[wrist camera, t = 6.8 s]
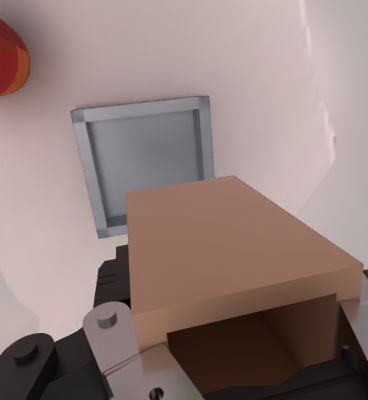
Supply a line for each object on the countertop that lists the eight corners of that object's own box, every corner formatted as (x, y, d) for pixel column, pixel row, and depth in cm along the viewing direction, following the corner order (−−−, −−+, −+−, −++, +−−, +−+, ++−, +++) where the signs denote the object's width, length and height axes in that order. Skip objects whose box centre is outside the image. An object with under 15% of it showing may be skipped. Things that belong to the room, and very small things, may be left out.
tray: (75, 109, 28) (70, 111, 25) (199, 95, 30) (209, 96, 27) (100, 224, 32) (98, 238, 29) (207, 206, 34) (216, 218, 31)
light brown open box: (126, 192, 13) (131, 315, 6) (233, 175, 14) (363, 263, 6) (143, 287, 15) (164, 477, 7) (238, 267, 16) (345, 421, 8)
